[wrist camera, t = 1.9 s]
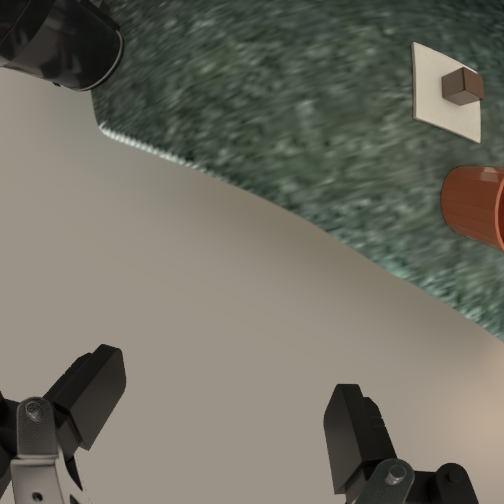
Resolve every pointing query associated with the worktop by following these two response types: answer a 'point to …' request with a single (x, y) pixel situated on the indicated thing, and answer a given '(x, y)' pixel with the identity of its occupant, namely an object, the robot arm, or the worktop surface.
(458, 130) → the lid
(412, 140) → the worktop surface
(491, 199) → the tumbler
